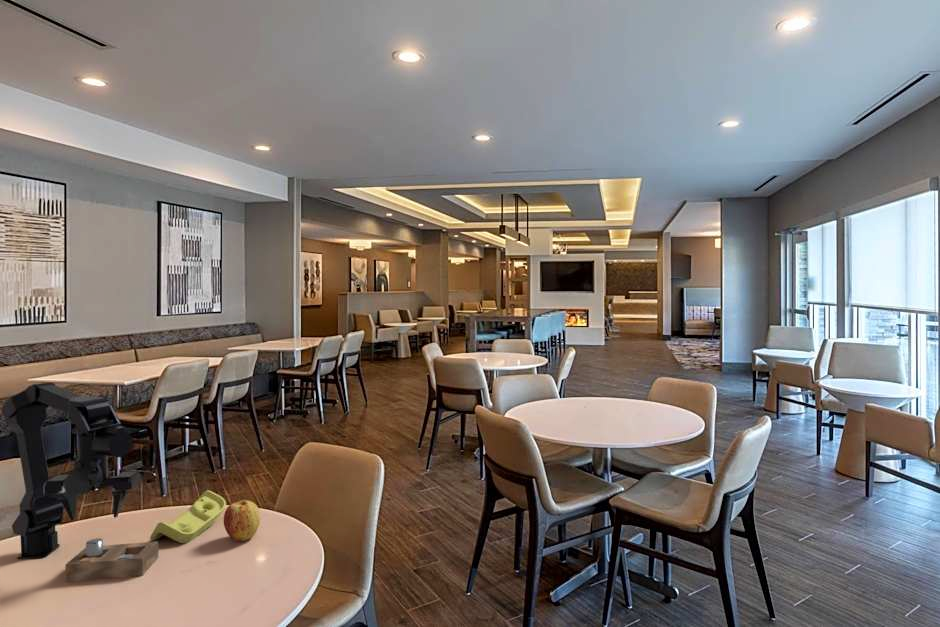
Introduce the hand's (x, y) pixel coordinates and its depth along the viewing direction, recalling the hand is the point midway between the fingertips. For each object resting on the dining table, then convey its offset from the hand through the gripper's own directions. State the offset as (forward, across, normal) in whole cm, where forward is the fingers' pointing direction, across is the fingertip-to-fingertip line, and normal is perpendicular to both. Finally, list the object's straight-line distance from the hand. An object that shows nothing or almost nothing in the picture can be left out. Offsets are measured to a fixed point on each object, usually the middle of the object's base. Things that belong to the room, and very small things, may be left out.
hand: (94, 518), depth 131 cm
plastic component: (+12, +15, +20) cm, 28 cm away
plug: (+12, +1, -2) cm, 12 cm away
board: (+12, +5, -2) cm, 13 cm away
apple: (+12, +30, +11) cm, 34 cm away
